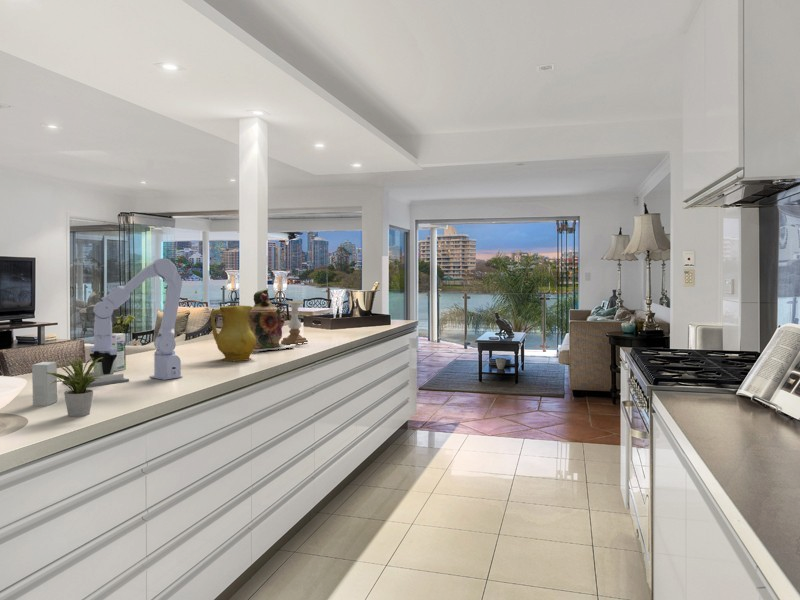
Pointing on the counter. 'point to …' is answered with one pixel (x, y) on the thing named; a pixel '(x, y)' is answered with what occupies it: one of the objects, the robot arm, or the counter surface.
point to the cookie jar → (266, 323)
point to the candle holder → (294, 325)
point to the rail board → (105, 379)
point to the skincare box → (44, 383)
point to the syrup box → (119, 351)
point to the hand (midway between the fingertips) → (103, 373)
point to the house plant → (78, 388)
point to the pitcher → (234, 333)
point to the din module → (100, 370)
